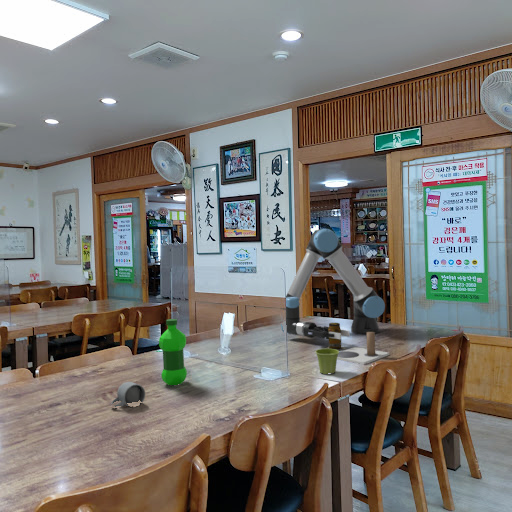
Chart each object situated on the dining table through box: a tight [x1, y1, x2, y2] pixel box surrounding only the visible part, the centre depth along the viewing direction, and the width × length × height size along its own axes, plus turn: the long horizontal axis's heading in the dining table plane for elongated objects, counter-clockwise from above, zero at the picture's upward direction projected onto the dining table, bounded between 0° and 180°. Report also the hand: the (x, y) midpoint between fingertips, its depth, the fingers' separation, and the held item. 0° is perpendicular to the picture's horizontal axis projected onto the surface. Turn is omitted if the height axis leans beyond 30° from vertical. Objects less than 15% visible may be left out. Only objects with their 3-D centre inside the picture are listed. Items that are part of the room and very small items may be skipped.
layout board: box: [337, 332, 390, 365], centre depth 211 cm, size 20×18×11 cm
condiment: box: [325, 322, 347, 351], centre depth 227 cm, size 7×8×12 cm
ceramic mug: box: [110, 381, 146, 407], centre depth 161 cm, size 11×8×8 cm
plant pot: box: [315, 348, 340, 375], centre depth 189 cm, size 9×9×9 cm
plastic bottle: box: [158, 318, 188, 386], centre depth 182 cm, size 10×10×25 cm
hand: (344, 335), depth 224 cm, fingers closed on condiment, 6 cm apart
